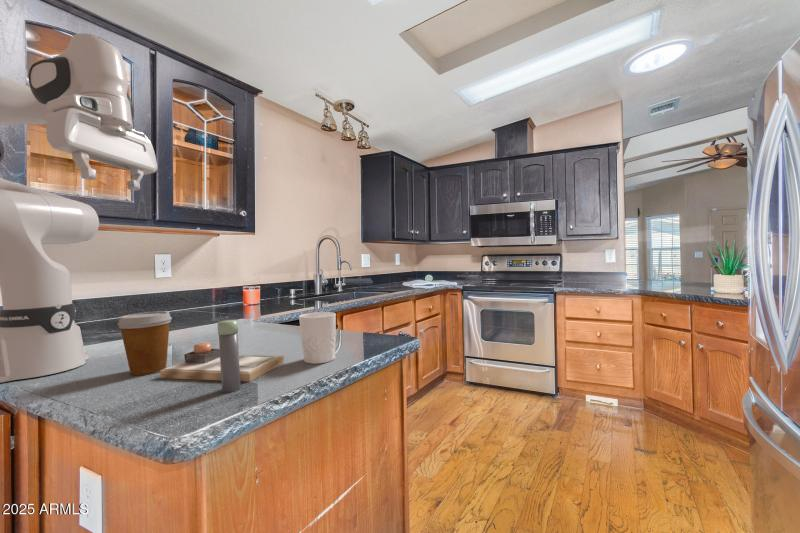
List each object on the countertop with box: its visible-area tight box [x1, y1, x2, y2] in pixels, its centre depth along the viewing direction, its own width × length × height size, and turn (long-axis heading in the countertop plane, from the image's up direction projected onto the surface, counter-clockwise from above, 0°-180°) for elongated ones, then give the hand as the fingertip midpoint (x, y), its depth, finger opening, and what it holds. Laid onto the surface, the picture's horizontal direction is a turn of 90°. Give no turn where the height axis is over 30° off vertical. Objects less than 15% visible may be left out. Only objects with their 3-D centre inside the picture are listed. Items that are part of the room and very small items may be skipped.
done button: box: [193, 342, 212, 354], centre depth 79 cm, size 3×3×2 cm
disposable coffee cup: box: [117, 310, 173, 376], centre depth 79 cm, size 10×10×12 cm
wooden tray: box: [159, 348, 285, 382], centre depth 77 cm, size 20×12×4 cm, turn 77°
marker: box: [217, 319, 242, 393], centre depth 65 cm, size 3×3×12 cm
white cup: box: [298, 311, 337, 365], centre depth 82 cm, size 8×8×10 cm
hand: (112, 184), depth 75 cm, fingers open, 8 cm apart
